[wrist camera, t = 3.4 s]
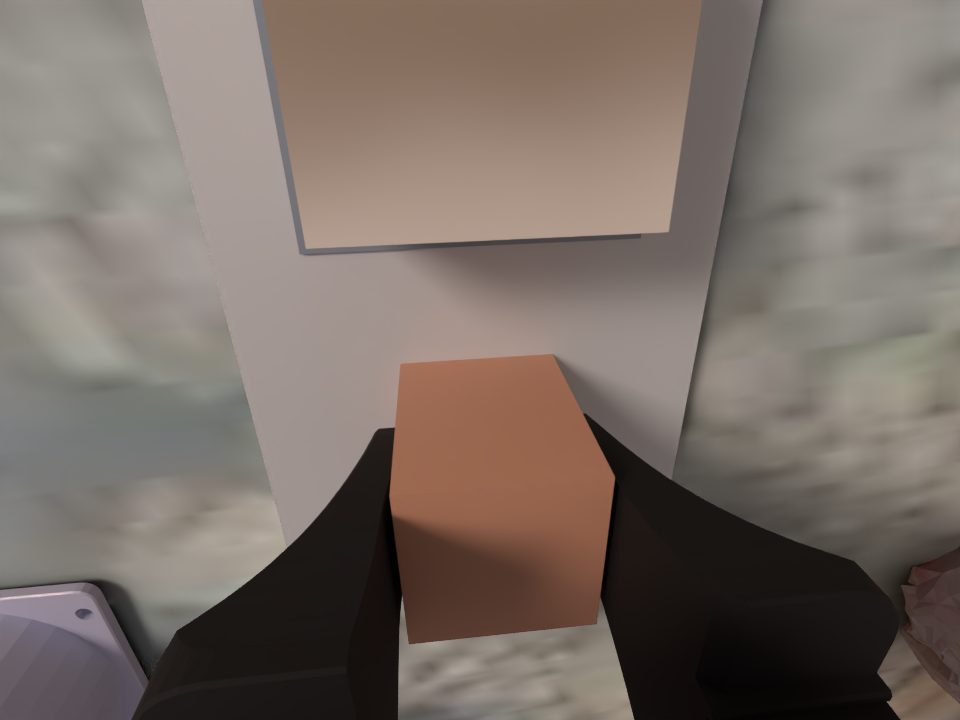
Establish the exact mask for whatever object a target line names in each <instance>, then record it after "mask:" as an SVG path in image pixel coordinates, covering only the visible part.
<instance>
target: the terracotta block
mask: <svg viewBox="0 0 960 720" xmlns="http://www.w3.org/2000/svg"><path fill="white" fill-rule="evenodd" d="M614 482H615V476H614V474H613V472H612V470H611V468H610V466H609V464H608V462H607V460H606V458H605V456H604V454H603V452H602V450H601V449H600V447H599V445H598V443H597V441H596V439H595V437H594V435H593V433H592V431H591V429H590V427H589V425H588V423H587V421H586V419H585V417H584V415H583V413H582V411H581V409H580V407H579V405H578V403H577V401H576V399H575V397H574V395H573V394H572V392H571V390H570V388H569V386H568V384H567V382H566V380H565V378H564V376H563V374H562V372H561V370H560V368H559V366H558V364H557V362H556V360H555V358H554V356H553V354H543V355H527V356H512V357H496V358H481V359H465V360H450V361H434V362H418V363H403V364H400V374H399V386H398V398H397V410H396V422H395V434H394V447H393V459H392V471H391V483H390V495H389V497H390V505H391V512H392V520H393V527H394V535H395V543H396V550H397V558H398V565H399V573H400V581H401V588H402V596H403V603H404V611H405V618H406V626H407V634H408V641H409V644H415V643H424V642H434V641H443V640H452V639H462V638H471V637H480V636H490V635H499V634H508V633H518V632H527V631H536V630H546V629H555V628H564V627H574V626H583V625H592V624H597V617H598V610H599V602H600V594H601V586H602V578H603V570H604V562H605V554H606V546H607V538H608V530H609V522H610V514H611V506H612V498H613V490H614Z"/></svg>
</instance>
